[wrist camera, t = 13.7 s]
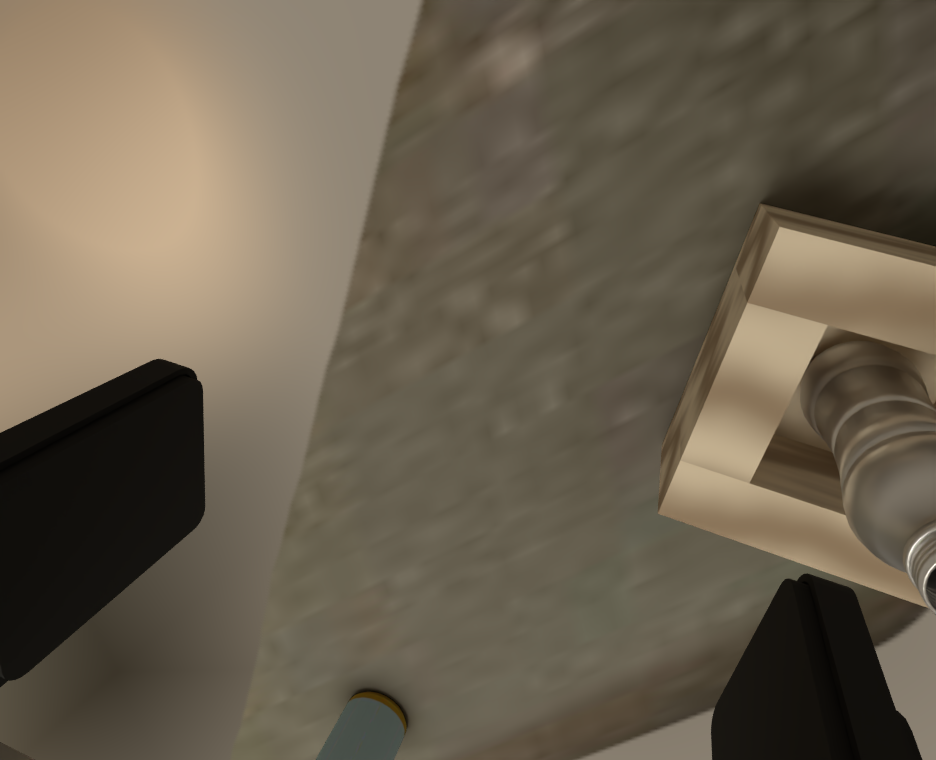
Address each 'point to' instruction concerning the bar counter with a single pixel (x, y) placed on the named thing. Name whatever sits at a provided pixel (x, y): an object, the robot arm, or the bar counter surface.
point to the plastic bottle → (880, 451)
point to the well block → (792, 388)
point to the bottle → (366, 730)
